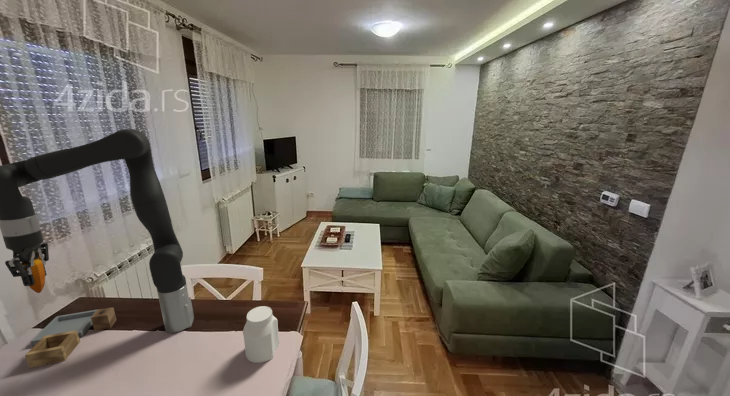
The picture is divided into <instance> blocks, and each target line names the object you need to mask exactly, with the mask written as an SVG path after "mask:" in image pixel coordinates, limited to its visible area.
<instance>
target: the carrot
mask: <svg viewBox="0 0 730 396" xmlns="http://www.w3.org/2000/svg"><path fill="white" fill-rule="evenodd" d="M33 252H34V251H33ZM21 264H22V263H21ZM28 264H29V263H26V264H22V265H28ZM44 266H45V265H44ZM44 266H43V263H42V261H41V260H40V259H36V260H34V266H33V267H32V274H33V278H34V281H35V284H34V285H32V286H28V288H30V289H31V290H32V291H33V292H35V293H37V294H40V293H41V292H42V291H43V290H44V287H45V284H46V276H45V271H44ZM24 269H25V270H26V271H27V268H24Z"/></svg>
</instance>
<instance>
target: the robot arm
mask: <svg viewBox="0 0 730 396" xmlns="http://www.w3.org/2000/svg"><path fill="white" fill-rule="evenodd" d="M119 160H121V161H122V160H124V162H125V164H126V167H127V170H128V173H129V191H130V200H131V203H132V206H133V209H134V212H135V214H136V217H137V219H138V220H139V222H140V223H141V225H142V226H144V228H145V229H146V230H147V232H148V233H149V235H150V238H151V240H152V244H153V250H154V253H152V256H150V258H149V262H148V264H149V271H150V274H151V275H150V276H151V279H152V282H153V285H154V287H155V288H156V290H157V296H158V302H159V305H160V310H161V316H162V319H163V325H164V330H165V332H166V333H170V334H174V333H179V332H181V331H184V330H185V329H188V328H192V325H193V322H194V319H195V315H194V309H193V304H192V298H191V297H189V292H188V284H187V280H186V276H185V275H184V274H183V271H182V266H181V265H182V264H181V262H182V260H183V258H184V253H183V249H182V246H181V244H180V241H179V240H178V238H177V236H176V233H175V230H174V227H173V224H172V218H171V214H170V211H169V207H168V204H167V203H168V202H167V200H166V197H165V194H164V191H163V188H162V185H161V182H160V180H159V177H158V175H157V172H156V170H155V166H154V160H153V155H152V147H151V144H150V140H149V138H148V137H147V136H146V134H145V133H144V132H142V131H140V130H137V129H133V128H126V129H119V130H117V131H115V132H113V133H111V134H108V135H106V136H104V137H102V138H100V139H98V140H95V141H92V142H88V143H86V144H82V145H78V146H74V147H69V148H64V149H59V150H55V151H52V152H51V151H50V152H48V153H47V152H46V153H43V154H39V155H36V156H33V157H29V158H28V159H24V160H20V161H16V162H15V161H14V162H12V163H11V162H10V163H6V164H2V165H0V232H1V236H2V239H3V242H4V245H5V249H7V250H10V251H12V258H11V259H9V260H6V261H5V262H4V264H5V265H6V267H7V269H8V270H9V272H10V274H11V275H12V277H13V278H16V277H19V278H21V281H22V284H23V286H24V287H29V286H32V285H34V284H35V281H34V278H33V274H32V267H33V266H34V260H36V259H40V260H41V261H42V263H43V266H44V271H45V277H46V276H47V270H46V267H45V265H46V263H47V262H48V261H49V259H50V257H49V256H50V255H49V244H48V243H47V242H44V238H43V233H42V229H41V226H40V223H39V220H38V218H37V215H36V213H35V209H34V205H33V202H32V200H31V198H30V197H27V196H23V195H22V193H21V191H20V188H21V187H23V186H28V185H30V184H33V183H36V182H39V181H42V180H43V181H44V180H49V179H52V178H53V179H54V178H56V177H60V176H64V175H67V174H71V173H73V172H76V171H80V170H83V169H85V168H87V167H91V166H93V165H94V166H95V165H98V164H102V163H103V164H104V163H107V162H113V161H119ZM33 251H34V252H33ZM21 263H22V264H26V263H29V264H28V265H22V264H21ZM24 268H27V271H26V270H25V269H24Z"/></svg>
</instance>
